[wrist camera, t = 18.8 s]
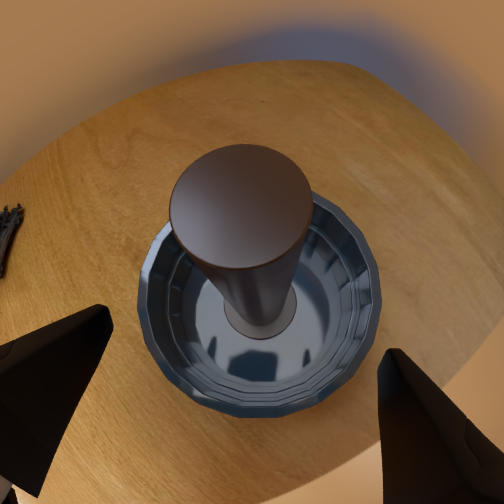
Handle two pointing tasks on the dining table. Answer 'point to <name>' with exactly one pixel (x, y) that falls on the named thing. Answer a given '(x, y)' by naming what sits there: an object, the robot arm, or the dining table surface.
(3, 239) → the beverage can
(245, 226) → the brown flanged post
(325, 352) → the bowl
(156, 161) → the dining table surface
